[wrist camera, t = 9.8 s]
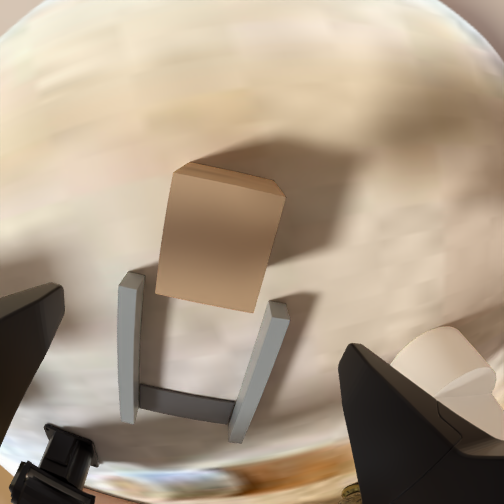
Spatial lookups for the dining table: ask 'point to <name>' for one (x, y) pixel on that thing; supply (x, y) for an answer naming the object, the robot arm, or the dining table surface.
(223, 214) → the walnut block
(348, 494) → the cup
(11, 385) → the robot arm
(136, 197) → the dining table surface
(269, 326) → the grey u-shaped frame
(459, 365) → the base with upright slab
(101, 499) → the brown rectangular tray
